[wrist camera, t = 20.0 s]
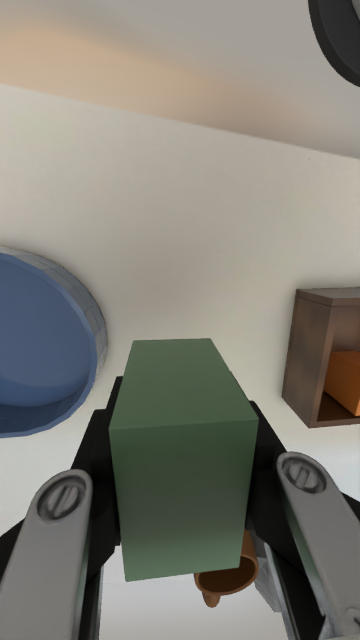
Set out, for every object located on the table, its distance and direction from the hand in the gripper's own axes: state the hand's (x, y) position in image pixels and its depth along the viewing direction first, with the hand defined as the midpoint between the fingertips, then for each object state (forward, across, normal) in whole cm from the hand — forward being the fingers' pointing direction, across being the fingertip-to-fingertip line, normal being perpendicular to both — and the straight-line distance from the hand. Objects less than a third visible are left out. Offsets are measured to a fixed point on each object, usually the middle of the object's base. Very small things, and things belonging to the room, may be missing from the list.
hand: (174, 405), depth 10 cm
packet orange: (+15, -22, +8) cm, 28 cm away
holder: (+16, -22, +5) cm, 28 cm away
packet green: (+1, 0, 0) cm, 1 cm away
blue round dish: (+16, +16, +2) cm, 22 cm away
